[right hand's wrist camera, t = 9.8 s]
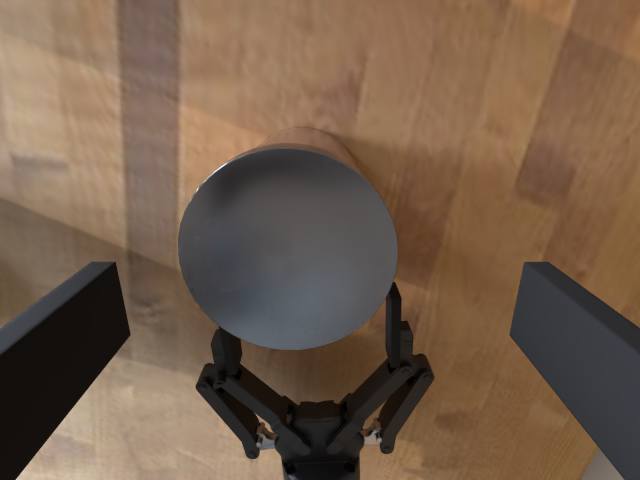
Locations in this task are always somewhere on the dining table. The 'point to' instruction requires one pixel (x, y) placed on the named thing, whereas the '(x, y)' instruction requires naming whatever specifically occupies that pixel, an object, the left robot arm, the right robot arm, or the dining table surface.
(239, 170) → the lid
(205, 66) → the dining table surface
